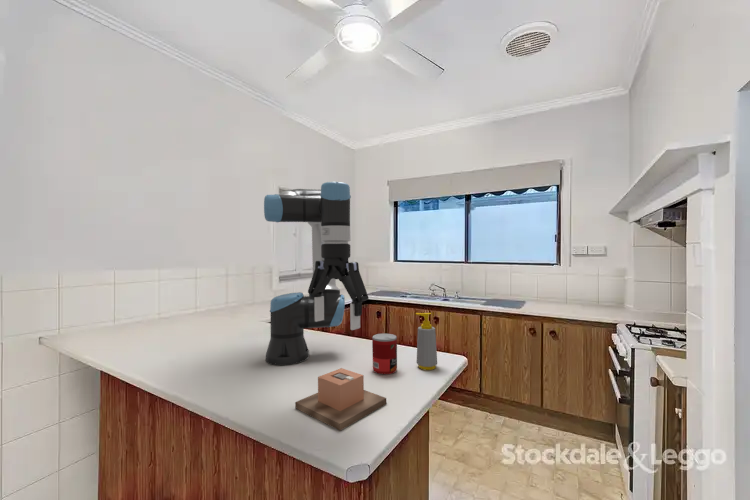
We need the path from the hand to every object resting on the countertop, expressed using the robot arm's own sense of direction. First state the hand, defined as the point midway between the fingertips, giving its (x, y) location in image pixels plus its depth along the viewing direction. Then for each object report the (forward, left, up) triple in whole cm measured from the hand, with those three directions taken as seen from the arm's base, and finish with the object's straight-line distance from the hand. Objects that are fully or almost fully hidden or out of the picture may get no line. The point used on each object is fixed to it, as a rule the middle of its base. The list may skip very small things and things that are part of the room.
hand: (336, 324), depth 85 cm
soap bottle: (+5, +35, -20) cm, 41 cm away
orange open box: (+3, -2, -18) cm, 18 cm away
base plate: (+3, -2, -20) cm, 20 cm away
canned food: (-4, +24, -20) cm, 32 cm away
